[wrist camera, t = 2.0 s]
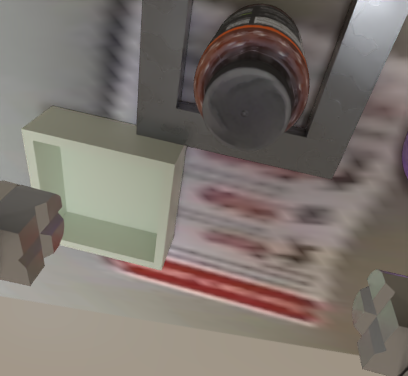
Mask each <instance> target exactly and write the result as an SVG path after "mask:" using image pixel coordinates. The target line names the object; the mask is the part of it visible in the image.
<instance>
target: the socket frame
mask: <svg viewBox="0 0 408 376" xmlns="http://www.w3.org/2000/svg"><path fill="white" fill-rule="evenodd" d="M192 4H193V0H142V19H141V42H140V64H139V86H138V108H137V130H136V134H137V135H141V136H145V137H150V138H154V139H158V140H163V141H167V142H171V143H176V144H180V145H184V146H189V147H193V148H197V149H202V150H206V151H210V152H215V153H219V154H223V155H228V156H232V157H236V158H241V159H245V160H249V161H254V162H258V163H262V164H267V165H271V166H275V167H280V168H284V169H288V170H293V171H297V172H302V173H306V174H310V175H315V176H319V177H323V178H328V179H332V178H333V176H334V173H335V171H336V169H337V167H338V165H339V162H340V160H341V158H342V156H343V154H344V152H345V149H346V147H347V145H348V143H349V141H350V138H351V136H352V134H353V132H354V130H355V128H356V125H357V123H358V121H359V119H360V117H361V114H362V112H363V110H364V108H365V106H366V104H367V101H368V99H369V97H370V95H371V93H372V90H373V88H374V86H375V84H376V82H377V80H378V77H379V75H380V73H381V71H382V69H383V66H384V64H385V62H386V60H387V58H388V55H389V53H390V51H391V49H392V47H393V45H394V42H395V40H396V38H397V36H398V34H399V31H400V29H401V27H402V25H403V23H404V21H405V18H406V16H407V14H408V0H352V3H351V5H350V8H349V11H348V14H347V16H346V19H345V22H344V25H343V27H342V30H341V33H340V36H339V38H338V41H337V44H336V47H335V49H334V52H333V55H332V58H331V60H330V63H329V66H328V68H327V71H326V74H325V77H324V79H323V82H322V85H321V88H320V90H319V93H318V96H317V99H316V101H315V104H314V107H313V110H312V112H311V115H310V118H309V121H308V123H307V126H306V129H304V128H299V127H295V126H292V127H290V128H289V129H288V130H287V131H285V132H284V133H283V134H282V135H281V136H280V138H279V139H278V140H276V141H275V142H274V143H273V144H271V145H269V146H267V147H265V148H263V149H259V150H256V151H239V150H234V149H231V148H229V147H226V146H224V145H223V144H221V143H220V142H219V141H217V140H216V139H215V138H214V137H213V136H212V135H211V133H210V132H209V130H208V129H207V127H206V125H205V122H204V119H203V117H202V116H201V114H200V112H199V110H198V107H197V105H196V104H192V103H187V102H183V101H181V94H182V85H183V77H184V69H185V61H186V53H187V44H188V36H189V28H190V20H191V12H192Z"/></svg>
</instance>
